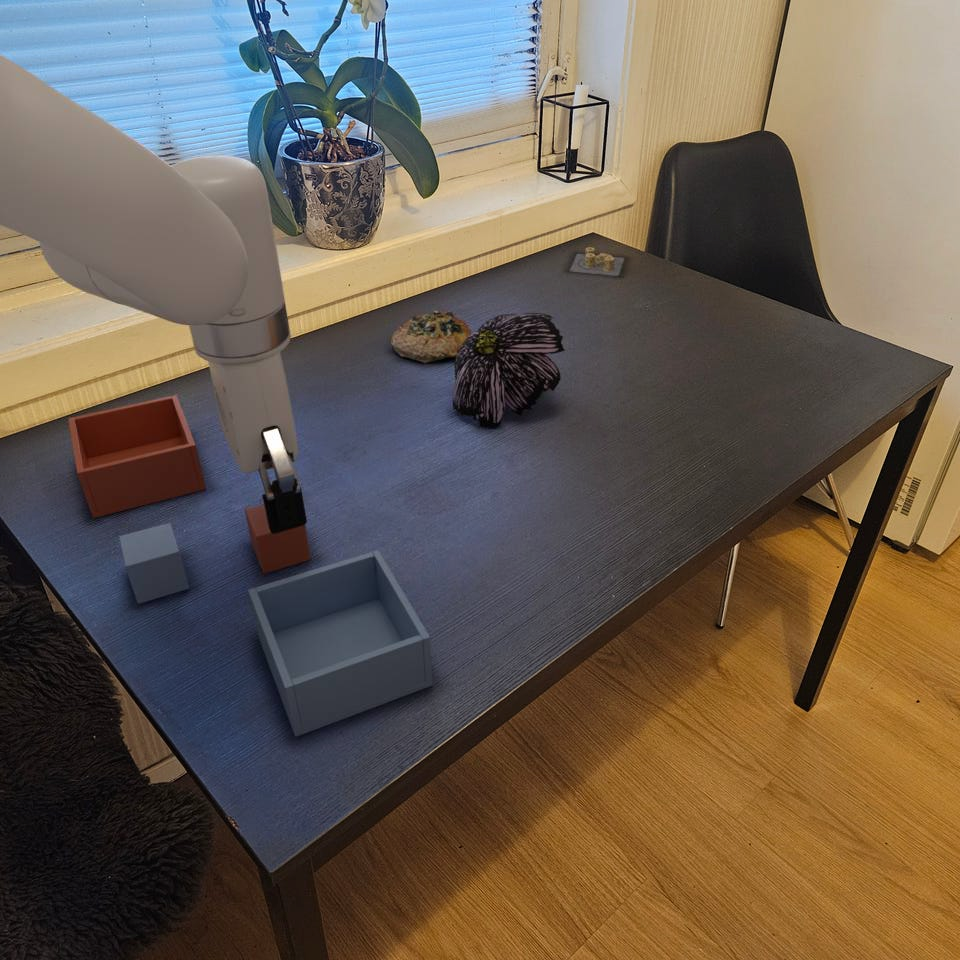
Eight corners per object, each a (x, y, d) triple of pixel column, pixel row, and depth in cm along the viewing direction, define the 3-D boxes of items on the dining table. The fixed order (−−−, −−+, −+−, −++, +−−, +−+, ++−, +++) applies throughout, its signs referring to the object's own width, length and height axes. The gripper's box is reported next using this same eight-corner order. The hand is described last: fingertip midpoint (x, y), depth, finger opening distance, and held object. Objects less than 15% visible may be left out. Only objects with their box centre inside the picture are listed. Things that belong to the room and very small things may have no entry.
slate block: (137, 604, 74) (125, 566, 71) (131, 573, 77) (118, 536, 74) (189, 588, 75) (179, 551, 73) (181, 559, 79) (170, 522, 76)
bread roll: (444, 318, 120) (445, 288, 117) (488, 357, 114) (490, 326, 110) (377, 341, 115) (375, 310, 112) (419, 383, 109) (419, 352, 105)
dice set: (612, 272, 135) (613, 260, 134) (581, 268, 136) (581, 257, 135) (616, 260, 139) (617, 249, 138) (585, 257, 140) (586, 246, 139)
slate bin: (295, 737, 62) (284, 688, 59) (258, 637, 71) (247, 589, 67) (432, 685, 66) (430, 636, 63) (383, 597, 74) (378, 549, 71)
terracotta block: (263, 574, 77) (255, 536, 74) (252, 545, 80) (244, 508, 78) (311, 559, 79) (305, 522, 76) (297, 532, 82) (291, 496, 79)
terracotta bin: (93, 518, 84) (77, 473, 80) (82, 461, 92) (68, 418, 88) (206, 489, 88) (195, 444, 84) (187, 436, 96) (176, 394, 92)
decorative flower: (418, 313, 99) (536, 270, 99) (442, 376, 109) (550, 337, 109) (447, 400, 91) (576, 352, 91) (471, 460, 100) (588, 417, 100)
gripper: (172, 293, 70) (212, 458, 81) (214, 386, 58) (256, 567, 68) (259, 277, 73) (288, 438, 83) (318, 362, 61) (343, 540, 71)
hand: (274, 496), depth 76 cm, fingers open, 9 cm apart
